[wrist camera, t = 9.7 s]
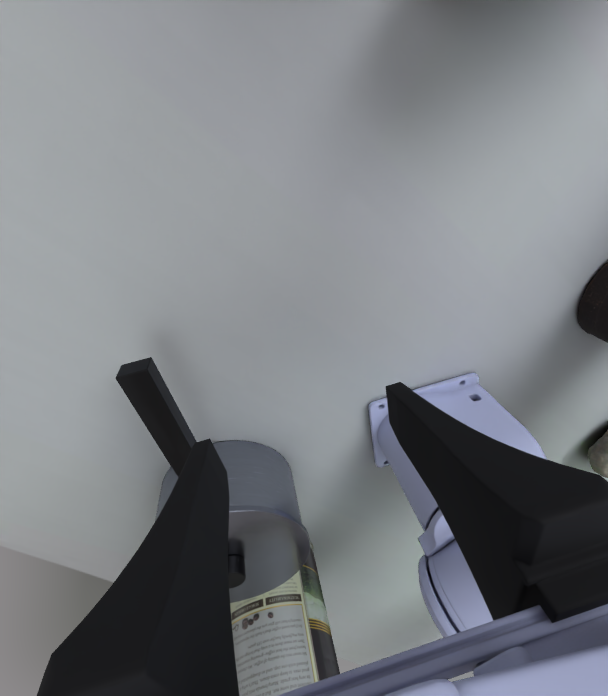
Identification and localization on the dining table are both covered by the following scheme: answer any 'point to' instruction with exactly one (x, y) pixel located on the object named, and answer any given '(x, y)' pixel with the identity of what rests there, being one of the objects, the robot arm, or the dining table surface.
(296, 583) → the coffee can
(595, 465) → the elongated rock
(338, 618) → the dining table surface
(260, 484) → the saucepan
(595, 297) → the container
